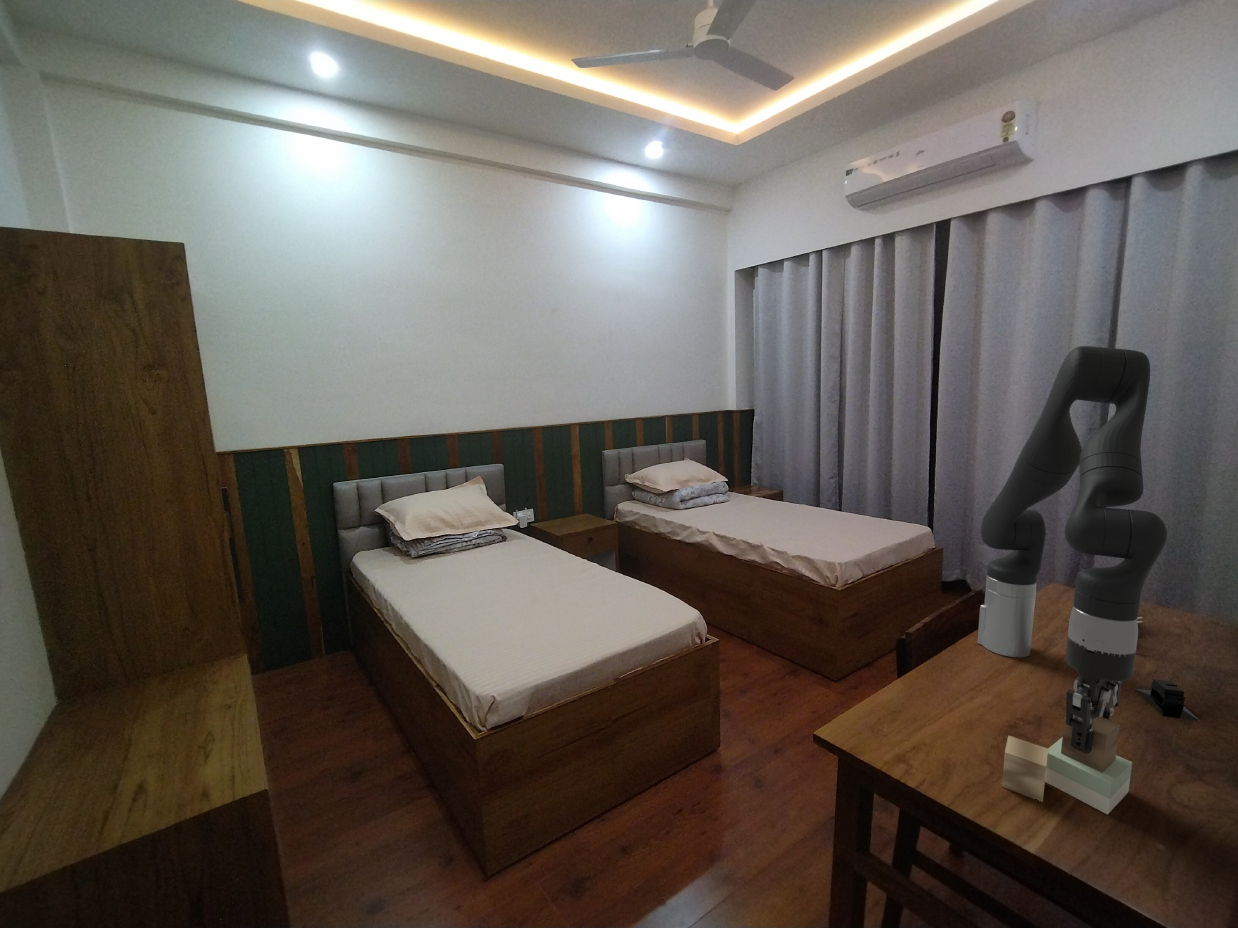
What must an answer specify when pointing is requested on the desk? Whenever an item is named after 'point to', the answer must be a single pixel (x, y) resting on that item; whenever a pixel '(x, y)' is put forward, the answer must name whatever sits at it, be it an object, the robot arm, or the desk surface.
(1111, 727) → the walnut brick
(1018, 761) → the brick
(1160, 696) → the black angular block
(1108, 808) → the brick base
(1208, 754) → the desk surface
